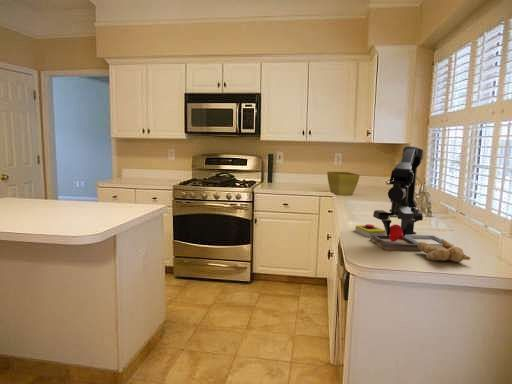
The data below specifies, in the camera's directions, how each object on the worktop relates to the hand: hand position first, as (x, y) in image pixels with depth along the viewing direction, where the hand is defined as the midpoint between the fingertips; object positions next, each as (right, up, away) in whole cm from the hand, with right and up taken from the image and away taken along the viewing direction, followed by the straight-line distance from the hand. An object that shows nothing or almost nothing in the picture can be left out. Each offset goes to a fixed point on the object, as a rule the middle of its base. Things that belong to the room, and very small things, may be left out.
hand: (395, 235), depth 154 cm
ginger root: (+11, -7, -16) cm, 21 cm away
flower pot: (+10, +16, +144) cm, 145 cm away
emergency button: (-5, -2, +18) cm, 19 cm away
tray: (+16, -4, +7) cm, 18 cm away
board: (0, -4, +1) cm, 4 cm away
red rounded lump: (0, -2, 0) cm, 2 cm away
